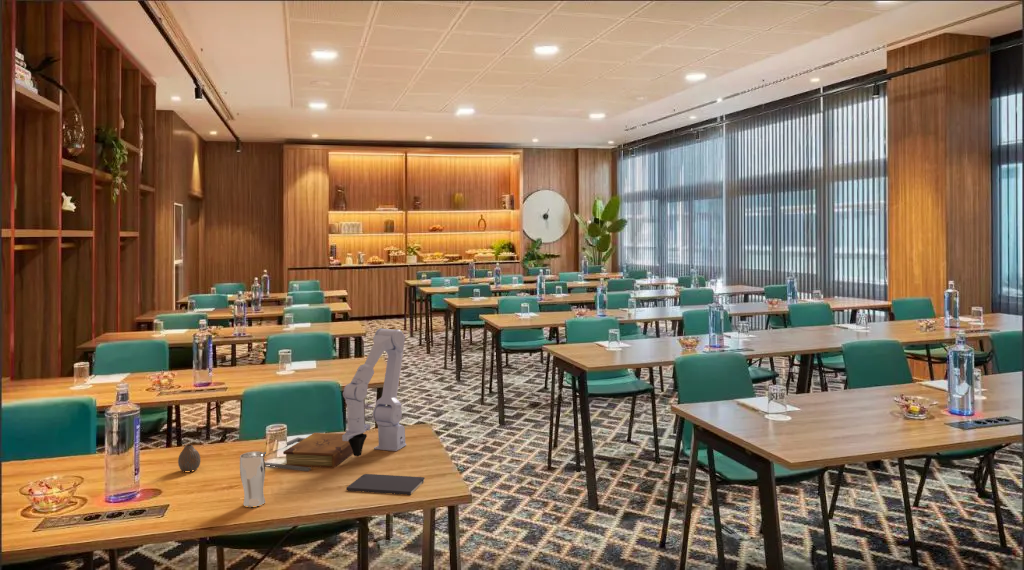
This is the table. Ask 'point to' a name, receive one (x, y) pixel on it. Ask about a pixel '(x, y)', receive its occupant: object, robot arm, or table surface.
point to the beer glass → (253, 477)
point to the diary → (319, 451)
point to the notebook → (386, 484)
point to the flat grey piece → (290, 465)
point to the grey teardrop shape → (189, 459)
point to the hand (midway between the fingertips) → (357, 455)
